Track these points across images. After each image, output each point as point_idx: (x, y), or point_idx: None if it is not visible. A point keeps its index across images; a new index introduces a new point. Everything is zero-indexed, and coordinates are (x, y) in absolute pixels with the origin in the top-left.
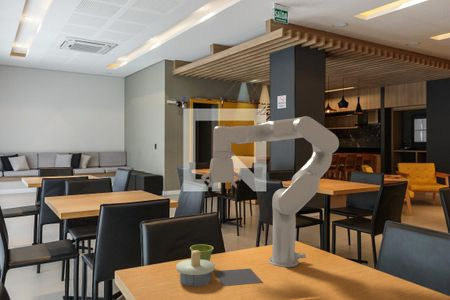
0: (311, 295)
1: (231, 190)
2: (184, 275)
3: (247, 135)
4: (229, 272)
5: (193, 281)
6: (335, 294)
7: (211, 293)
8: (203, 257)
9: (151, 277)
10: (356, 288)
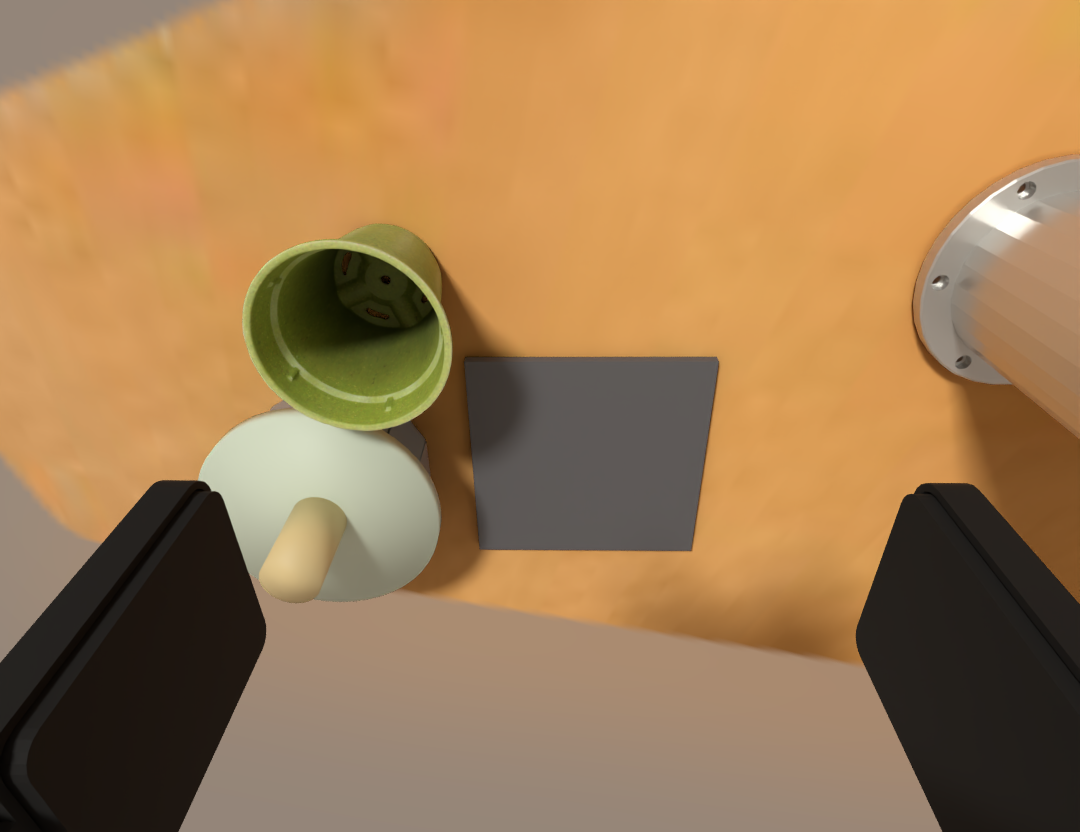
0: (827, 659)
1: (975, 667)
2: None
3: None
4: (560, 400)
5: None
6: None
7: (419, 579)
8: (375, 387)
9: (76, 355)
10: None
